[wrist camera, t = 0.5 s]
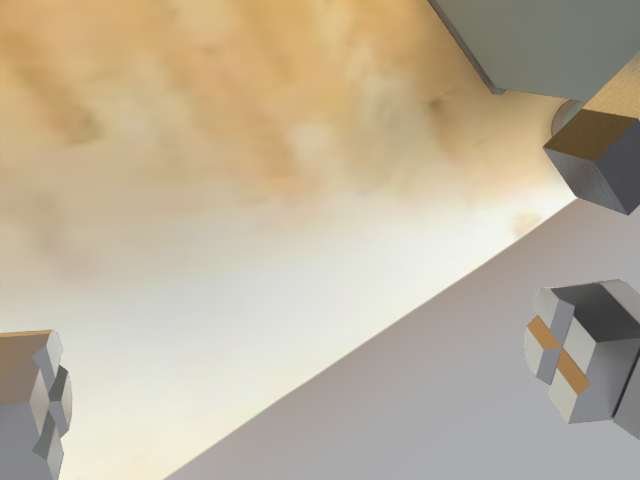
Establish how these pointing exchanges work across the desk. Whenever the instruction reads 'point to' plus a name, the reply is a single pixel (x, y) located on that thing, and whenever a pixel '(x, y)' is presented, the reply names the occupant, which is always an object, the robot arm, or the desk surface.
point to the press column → (545, 42)
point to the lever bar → (604, 144)
